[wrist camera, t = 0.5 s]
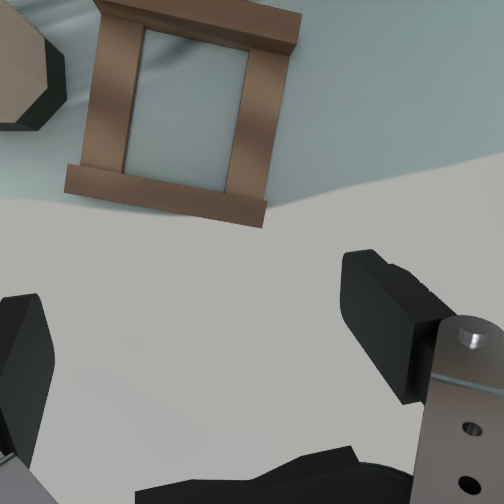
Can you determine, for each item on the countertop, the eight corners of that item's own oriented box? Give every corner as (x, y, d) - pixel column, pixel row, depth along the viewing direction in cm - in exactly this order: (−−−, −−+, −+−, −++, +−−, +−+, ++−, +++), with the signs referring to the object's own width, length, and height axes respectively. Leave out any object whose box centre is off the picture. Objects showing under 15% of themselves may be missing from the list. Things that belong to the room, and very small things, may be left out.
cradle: (108, -9, 34) (95, -35, 30) (292, 33, 36) (302, 14, 32) (80, 192, 36) (63, 192, 32) (256, 224, 37) (261, 228, 33)
